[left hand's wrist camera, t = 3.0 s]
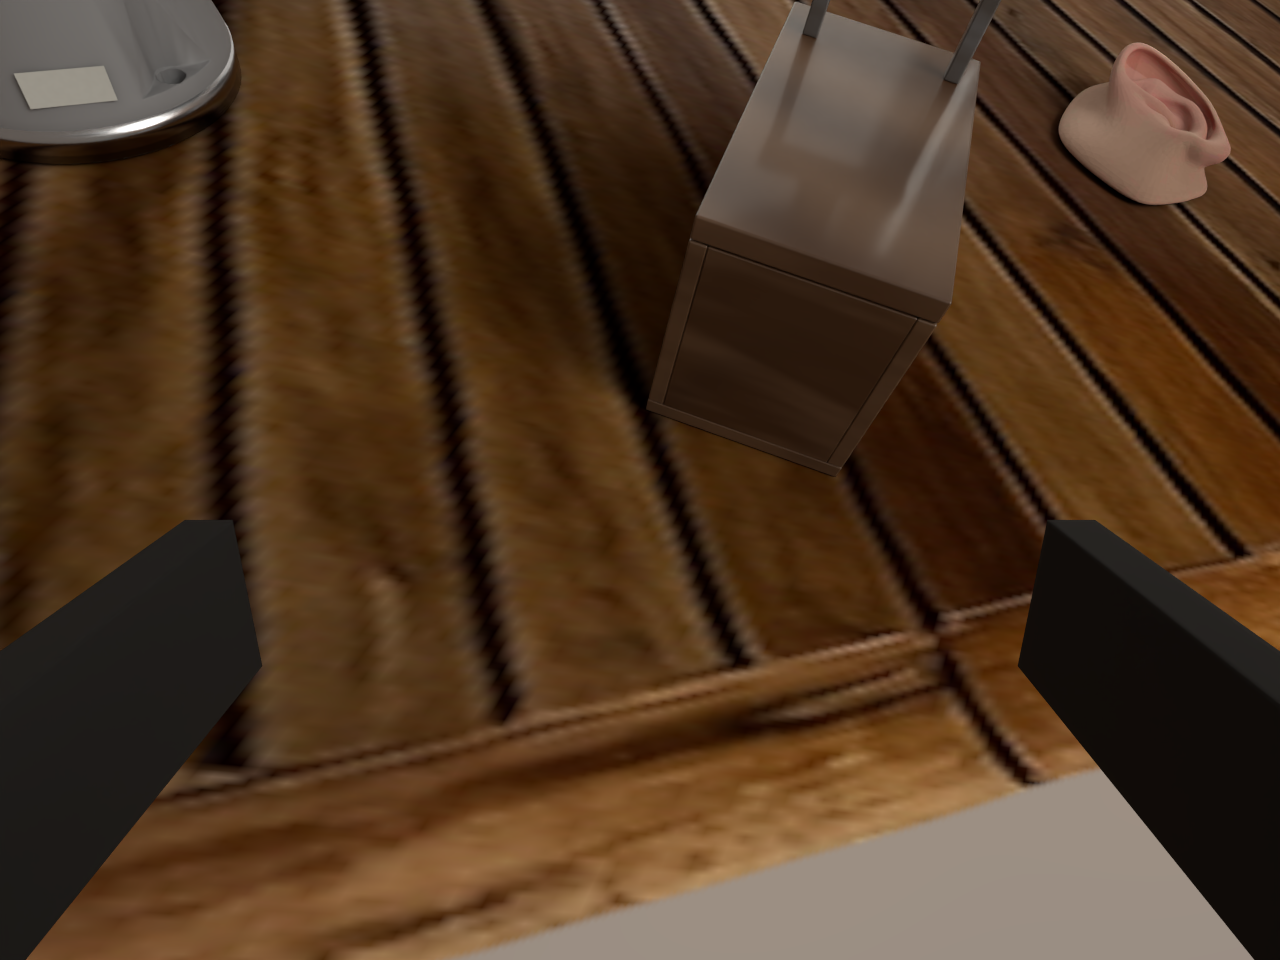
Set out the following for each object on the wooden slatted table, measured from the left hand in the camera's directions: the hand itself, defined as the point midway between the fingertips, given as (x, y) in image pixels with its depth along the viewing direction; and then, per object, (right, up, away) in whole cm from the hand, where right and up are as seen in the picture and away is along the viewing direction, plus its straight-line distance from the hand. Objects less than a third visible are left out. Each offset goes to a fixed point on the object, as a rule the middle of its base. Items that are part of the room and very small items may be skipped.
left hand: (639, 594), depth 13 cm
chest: (+7, +10, +27) cm, 30 cm away
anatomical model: (+35, +26, +42) cm, 61 cm away
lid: (+9, +16, +19) cm, 26 cm away
